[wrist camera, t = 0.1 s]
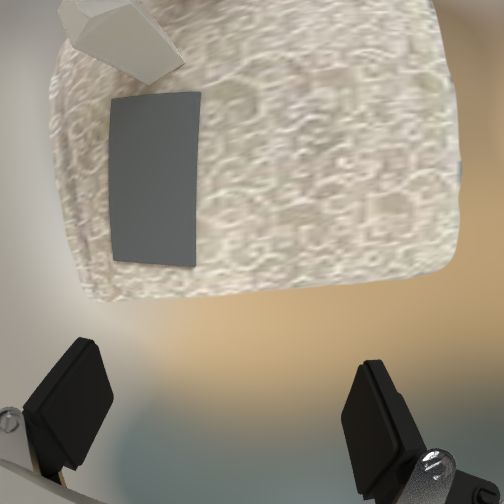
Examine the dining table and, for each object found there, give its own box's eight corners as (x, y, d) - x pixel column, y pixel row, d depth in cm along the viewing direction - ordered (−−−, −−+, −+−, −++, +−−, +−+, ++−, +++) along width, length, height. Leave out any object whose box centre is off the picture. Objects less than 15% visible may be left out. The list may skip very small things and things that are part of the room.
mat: (113, 99, 34) (111, 99, 33) (200, 92, 34) (200, 91, 33) (115, 259, 42) (113, 260, 41) (195, 265, 41) (195, 266, 41)
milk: (149, 86, 33) (49, 40, 13) (132, 56, 32) (35, 2, 11) (187, 62, 32) (114, -13, 12) (168, 33, 31) (93, -45, 10)
